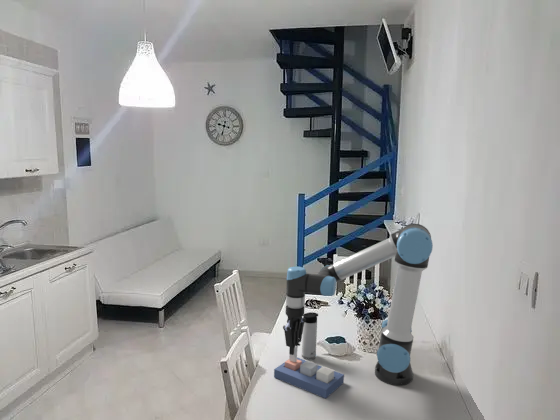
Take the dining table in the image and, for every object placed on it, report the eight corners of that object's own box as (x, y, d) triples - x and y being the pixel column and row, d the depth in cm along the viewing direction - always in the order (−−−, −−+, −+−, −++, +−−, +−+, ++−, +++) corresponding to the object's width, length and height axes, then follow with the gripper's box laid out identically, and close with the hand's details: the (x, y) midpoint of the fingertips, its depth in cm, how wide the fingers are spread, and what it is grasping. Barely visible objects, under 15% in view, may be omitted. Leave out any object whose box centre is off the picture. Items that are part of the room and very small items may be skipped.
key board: (343, 382, 170) (343, 374, 169) (325, 398, 159) (326, 389, 158) (293, 364, 184) (293, 356, 183) (274, 377, 173) (274, 369, 172)
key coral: (301, 369, 176) (301, 360, 175) (294, 373, 172) (295, 365, 171) (291, 365, 179) (291, 357, 178) (284, 369, 175) (284, 361, 174)
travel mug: (315, 360, 187) (317, 316, 185) (300, 358, 188) (302, 315, 186) (317, 354, 193) (319, 311, 191) (302, 352, 195) (304, 310, 192)
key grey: (317, 372, 171) (317, 364, 171) (310, 377, 167) (311, 369, 167) (306, 368, 174) (307, 360, 174) (300, 373, 170) (300, 365, 170)
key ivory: (333, 378, 167) (334, 370, 166) (327, 384, 163) (327, 375, 162) (322, 374, 170) (323, 366, 169) (316, 379, 166) (316, 371, 165)
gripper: (296, 299, 179) (294, 352, 182) (277, 307, 169) (276, 363, 172) (311, 303, 175) (309, 357, 178) (293, 312, 164) (291, 370, 167)
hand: (293, 360), depth 175 cm, fingers closed
